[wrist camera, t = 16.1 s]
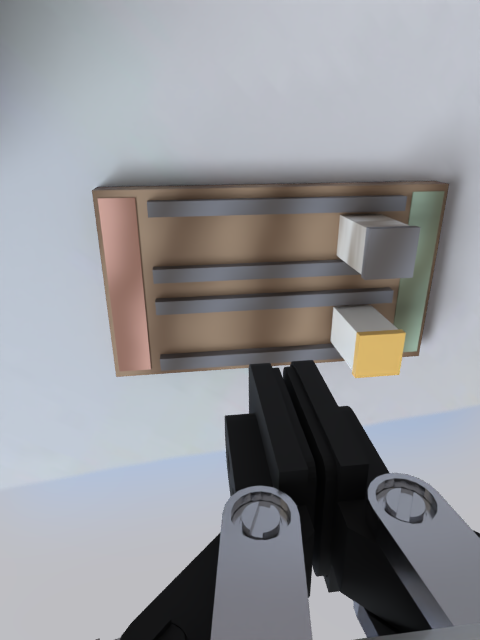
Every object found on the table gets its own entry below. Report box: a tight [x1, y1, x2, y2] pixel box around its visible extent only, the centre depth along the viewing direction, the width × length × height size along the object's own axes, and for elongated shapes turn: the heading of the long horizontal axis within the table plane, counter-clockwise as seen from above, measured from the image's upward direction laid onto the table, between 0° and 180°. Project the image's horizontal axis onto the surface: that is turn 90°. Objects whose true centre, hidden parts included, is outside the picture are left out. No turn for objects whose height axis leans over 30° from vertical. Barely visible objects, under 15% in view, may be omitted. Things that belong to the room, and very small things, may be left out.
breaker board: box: [92, 181, 449, 377], centre depth 31 cm, size 25×14×8 cm, turn 90°
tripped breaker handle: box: [331, 305, 406, 378], centre depth 32 cm, size 3×3×6 cm
